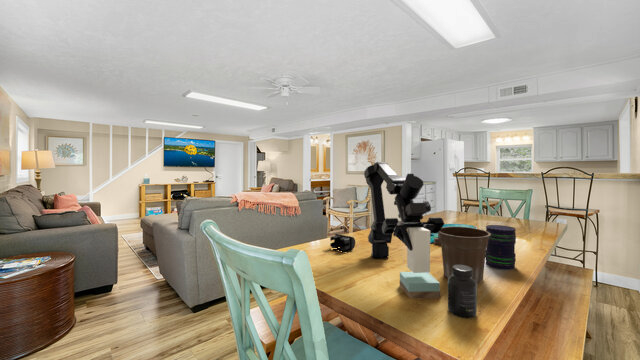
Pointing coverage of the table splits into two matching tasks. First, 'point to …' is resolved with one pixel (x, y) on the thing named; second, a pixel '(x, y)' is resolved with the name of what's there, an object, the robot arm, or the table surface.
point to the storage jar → (501, 247)
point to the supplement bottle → (462, 292)
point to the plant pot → (464, 249)
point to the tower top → (419, 282)
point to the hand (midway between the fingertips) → (420, 249)
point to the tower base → (421, 293)
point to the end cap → (342, 242)
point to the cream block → (419, 250)
